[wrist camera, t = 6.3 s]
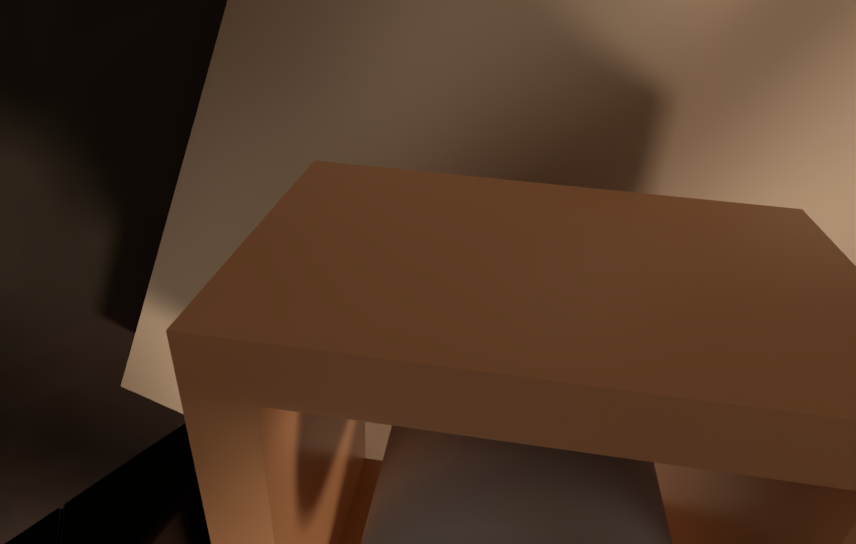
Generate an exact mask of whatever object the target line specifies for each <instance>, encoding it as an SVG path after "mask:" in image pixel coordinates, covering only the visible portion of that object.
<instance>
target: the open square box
mask: <svg viewBox="0 0 856 544" xmlns="http://www.w3.org/2000/svg"><path fill="white" fill-rule="evenodd" d="M166 333H167V338H168V343H169V348H170V352H171V357H172V362H173V366H174V371H175V376H176V381H177V385H178V390H179V395H180V399H181V404H182V409H183V414H184V418H185V423H186V428H187V432H188V437H189V442H190V446H191V451H192V456H193V461H194V465H195V470H196V475H197V479H198V484H199V489H200V494H201V498H202V503H203V508H204V512H205V517H206V522H207V527H208V531H209V536H210V541H211V544H361V540H362V536H363V532H364V529H365V525H366V521H367V517H368V514H369V510H370V506H371V502H372V498H373V495H374V491H375V487H376V483H377V480H378V476H379V472H380V468H381V465H382V461H381V460H375V459H368V458H365V422H371V423H378V424H385V425H392V426H400V427H407V428H414V429H421V430H428V431H435V432H442V433H449V434H456V435H463V436H470V437H477V438H485V439H492V440H499V441H506V442H513V443H520V444H527V445H534V446H541V447H548V448H555V449H563V450H570V451H577V452H584V453H591V454H598V455H605V456H612V457H619V458H626V459H633V460H640V461H648V462H655V464H654V466H655V470H656V474H657V479H658V483H659V487H660V492H661V496H662V500H663V505H664V509H665V513H666V518H667V522H668V526H669V531H670V535H671V539H672V544H856V266H855V265H854V264H853V263H852V262H851V261H850V260H849V259H848V257H847V256H846V255H845V254H844V253H843V252H842V251H841V250H840V249H839V248H838V247H837V246H836V245H835V244H834V243H833V241H832V240H831V239H830V238H829V237H828V236H827V235H826V234H825V233H824V232H823V231H822V230H821V229H820V228H819V226H818V225H817V224H816V223H815V222H814V221H813V220H812V219H811V218H810V217H809V216H808V215H807V214H806V213H805V212H804V210H803V209H795V208H785V207H775V206H765V205H755V204H745V203H735V202H725V201H715V200H705V199H695V198H685V197H675V196H665V195H655V194H645V193H635V192H625V191H615V190H605V189H595V188H585V187H575V186H565V185H555V184H545V183H535V182H525V181H515V180H505V179H495V178H485V177H475V176H465V175H455V174H445V173H435V172H425V171H415V170H405V169H395V168H385V167H375V166H365V165H355V164H345V163H335V162H325V161H315V160H314V161H313V162H312V164H311V165H310V166H309V167H308V168H307V169H306V170H305V172H304V173H303V174H302V175H301V176H300V177H299V178H298V180H297V181H296V182H295V183H294V184H293V185H292V186H291V188H290V189H289V190H288V191H287V192H286V193H285V194H284V196H283V197H282V198H281V199H280V200H279V201H278V203H277V204H276V205H275V206H274V207H273V208H272V209H271V211H270V212H269V213H268V214H267V215H266V216H265V217H264V219H263V220H262V221H261V222H260V223H259V224H258V225H257V227H256V228H255V229H254V230H253V231H252V232H251V233H250V235H249V236H248V237H247V238H246V239H245V240H244V241H243V243H242V244H241V245H240V246H239V247H238V248H237V249H236V251H235V252H234V253H233V254H232V255H231V256H230V257H229V259H228V260H227V261H226V262H225V263H224V264H223V266H222V267H221V268H220V269H219V270H218V271H217V272H216V274H215V275H214V276H213V277H212V278H211V279H210V280H209V282H208V283H207V284H206V285H205V286H204V287H203V288H202V290H201V291H200V292H199V293H198V294H197V295H196V296H195V298H194V299H193V300H192V301H191V302H190V303H189V304H188V306H187V307H186V308H185V309H184V310H183V311H182V312H181V314H180V315H179V316H178V317H177V318H176V319H175V321H174V322H173V323H172V324H171V325H170V326H169V327H168V329H167V330H166Z"/></svg>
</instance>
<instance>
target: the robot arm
mask: <svg viewBox="0 0 856 544" xmlns="http://www.w3.org/2000/svg"><path fill="white" fill-rule="evenodd" d="M5 544H211V541H210V536H209V531H208V527H207V522H206V517H205V512H204V508H203V503H202V498H201V494H200V489H199V484H198V479H197V475H196V470H195V465H194V461H193V456H192V451H191V446H190V442H189V437H188V432H187V428H186V423H183V424H182V425H180V426H179V427H178V428H176V429H175V430H173V431H172V432H170V433H169V434H167V435H166V436H164V437H163V438H161V439H160V440H158V441H157V442H155V443H154V444H152V445H151V446H149V447H148V448H146V449H145V450H144V451H142V452H141V453H139V454H138V455H136V456H135V457H133V458H132V459H130V460H129V461H127V462H126V463H124V464H123V465H121V466H120V467H118V468H117V469H115V470H114V471H113V472H111V473H110V474H108V475H107V476H105V477H104V478H102V479H101V480H99V481H98V482H96V483H95V484H93V485H92V486H90V487H89V488H87V489H86V490H84V491H83V492H82V493H80V494H79V495H77V496H76V497H74V498H73V499H71V500H70V501H68V502H67V503H65V505H64V506H63V509H61V508H58V509H56V510H55V511H53V512H52V513H50V514H49V515H47V516H46V517H44V518H43V519H41V520H40V521H38V522H37V523H35V524H34V525H32V526H31V527H29V528H28V529H26V530H25V531H23V532H22V533H20V534H19V535H17V536H16V537H14V538H13V539H11V540H10V541H8V542H6V543H5Z"/></svg>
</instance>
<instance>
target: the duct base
mask: <svg viewBox="0 0 856 544" xmlns="http://www.w3.org/2000/svg"><path fill="white" fill-rule="evenodd" d="M314 160H315V161H325V162H335V163H345V164H355V165H365V166H375V167H385V168H395V169H405V170H415V171H425V172H435V173H445V174H455V175H465V176H475V177H485V178H495V179H505V180H515V181H525V182H535V183H545V184H555V185H565V186H575V187H585V188H595V189H605V190H615V191H625V192H635V193H645V194H655V195H665V196H675V197H685V198H695V199H705V200H715V201H725V202H735V203H745V204H755V205H765V206H775V207H785V208H795V209H803V210H804V212H805V213H806V214H807V215H808V216H809V217H810V218H811V219H812V220H813V221H814V222H815V223H816V224H817V225H818V226H819V228H820V229H821V230H822V231H823V232H824V233H825V234H826V235H827V236H828V237H829V238H830V239H831V240H832V241H833V243H834V244H835V245H836V246H837V247H838V248H839V249H840V250H841V251H842V252H843V253H844V254H845V255H846V256H847V257H848V259H849V260H850V261H851V262H852V263H853V264H854V265H855V266H856V0H227V4H226V8H225V11H224V15H223V19H222V22H221V26H220V29H219V33H218V37H217V40H216V44H215V47H214V51H213V55H212V58H211V62H210V66H209V69H208V73H207V76H206V80H205V84H204V87H203V91H202V94H201V98H200V102H199V105H198V109H197V113H196V116H195V120H194V123H193V127H192V131H191V134H190V138H189V141H188V145H187V149H186V152H185V156H184V159H183V163H182V167H181V170H180V174H179V178H178V181H177V185H176V188H175V192H174V196H173V199H172V203H171V206H170V210H169V214H168V217H167V221H166V225H165V228H164V232H163V235H162V239H161V243H160V246H159V250H158V253H157V257H156V261H155V264H154V268H153V272H152V275H151V279H150V282H149V286H148V290H147V293H146V297H145V300H144V304H143V308H142V311H141V315H140V319H139V322H138V326H137V329H136V333H135V337H134V340H133V344H132V347H131V351H130V355H129V358H128V362H127V365H126V369H125V373H124V376H123V380H122V384H121V387H124V388H126V389H128V390H130V391H133V392H135V393H137V394H139V395H141V396H144V397H146V398H148V399H150V400H153V401H155V402H157V403H159V404H162V405H164V406H166V407H168V408H171V409H173V410H175V411H177V412H180V413H182V414H183V409H182V404H181V399H180V395H179V390H178V385H177V381H176V376H175V371H174V366H173V362H172V357H171V352H170V348H169V343H168V338H167V333H166V330H167V329H168V327H169V326H170V325H171V324H172V323H173V322H174V321H175V319H176V318H177V317H178V316H179V315H180V314H181V312H182V311H183V310H184V309H185V308H186V307H187V306H188V304H189V303H190V302H191V301H192V300H193V299H194V298H195V296H196V295H197V294H198V293H199V292H200V291H201V290H202V288H203V287H204V286H205V285H206V284H207V283H208V282H209V280H210V279H211V278H212V277H213V276H214V275H215V274H216V272H217V271H218V270H219V269H220V268H221V267H222V266H223V264H224V263H225V262H226V261H227V260H228V259H229V257H230V256H231V255H232V254H233V253H234V252H235V251H236V249H237V248H238V247H239V246H240V245H241V244H242V243H243V241H244V240H245V239H246V238H247V237H248V236H249V235H250V233H251V232H252V231H253V230H254V229H255V228H256V227H257V225H258V224H259V223H260V222H261V221H262V220H263V219H264V217H265V216H266V215H267V214H268V213H269V212H270V211H271V209H272V208H273V207H274V206H275V205H276V204H277V203H278V201H279V200H280V199H281V198H282V197H283V196H284V194H285V193H286V192H287V191H288V190H289V189H290V188H291V186H292V185H293V184H294V183H295V182H296V181H297V180H298V178H299V177H300V176H301V175H302V174H303V173H304V172H305V170H306V169H307V168H308V167H309V166H310V165H311V164H312V162H313V161H314ZM365 458H368V459H375V460H381V461H382V465H381V468H380V472H379V476H378V480H377V483H376V487H375V491H374V495H373V498H372V502H371V506H370V510H369V514H368V517H367V521H366V525H365V529H364V532H363V536H362V540H361V544H672V539H671V535H670V531H669V526H668V522H667V518H666V513H665V509H664V505H663V500H662V496H661V492H660V487H659V483H658V479H657V474H656V470H655V466H654V464H655V462H648V461H640V460H633V459H626V458H619V457H612V456H605V455H598V454H591V453H584V452H577V451H570V450H563V449H555V448H548V447H541V446H534V445H527V444H520V443H513V442H506V441H499V440H492V439H485V438H477V437H470V436H463V435H456V434H449V433H442V432H435V431H428V430H421V429H414V428H407V427H400V426H392V425H385V424H378V423H371V422H365Z"/></svg>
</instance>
